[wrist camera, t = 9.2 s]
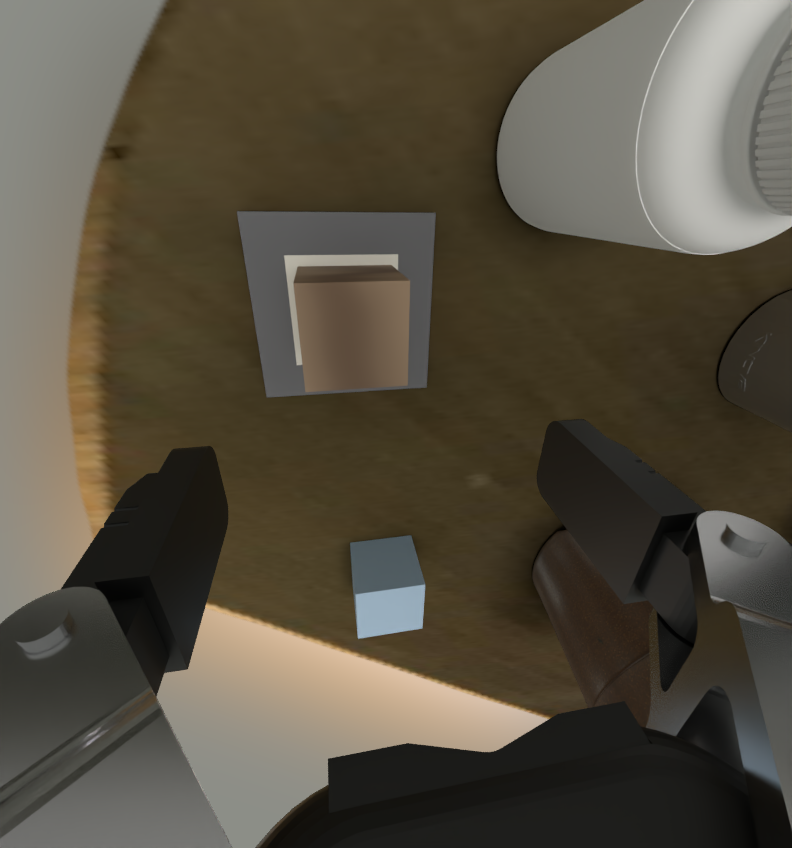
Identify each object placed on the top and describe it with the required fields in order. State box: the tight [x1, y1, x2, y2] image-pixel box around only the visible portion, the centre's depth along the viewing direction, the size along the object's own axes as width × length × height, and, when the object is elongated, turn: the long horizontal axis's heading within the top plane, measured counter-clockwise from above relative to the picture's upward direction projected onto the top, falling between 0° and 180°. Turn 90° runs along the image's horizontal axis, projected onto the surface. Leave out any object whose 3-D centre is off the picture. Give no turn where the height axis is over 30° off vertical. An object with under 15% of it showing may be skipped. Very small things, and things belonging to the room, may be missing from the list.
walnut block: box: [293, 265, 410, 392], centre depth 21 cm, size 5×5×5 cm
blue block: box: [350, 535, 425, 639], centre depth 32 cm, size 5×5×5 cm
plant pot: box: [532, 530, 653, 727], centre depth 32 cm, size 16×16×16 cm
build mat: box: [237, 211, 436, 397], centre depth 23 cm, size 10×10×1 cm
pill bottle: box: [497, 0, 792, 255], centre depth 15 cm, size 8×8×15 cm
